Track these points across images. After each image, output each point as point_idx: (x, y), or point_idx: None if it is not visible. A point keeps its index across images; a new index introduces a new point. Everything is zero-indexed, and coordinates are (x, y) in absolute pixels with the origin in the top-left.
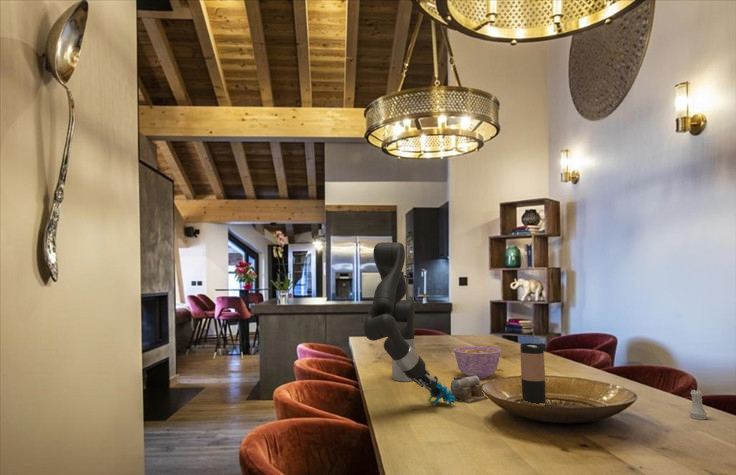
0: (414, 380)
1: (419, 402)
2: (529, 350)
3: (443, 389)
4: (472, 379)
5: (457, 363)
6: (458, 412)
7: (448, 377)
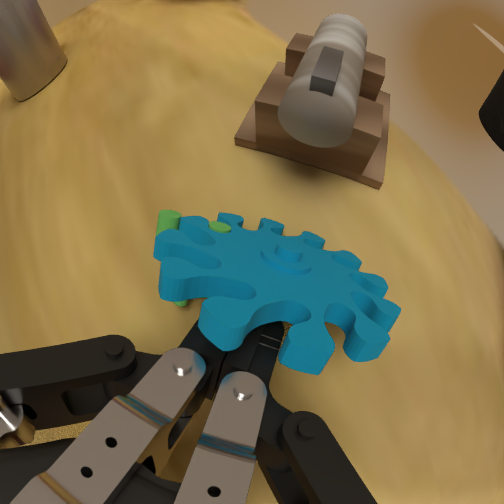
0: (45, 425)
1: (132, 309)
2: None
3: (327, 312)
4: (361, 44)
5: None
6: (415, 374)
7: (151, 9)
